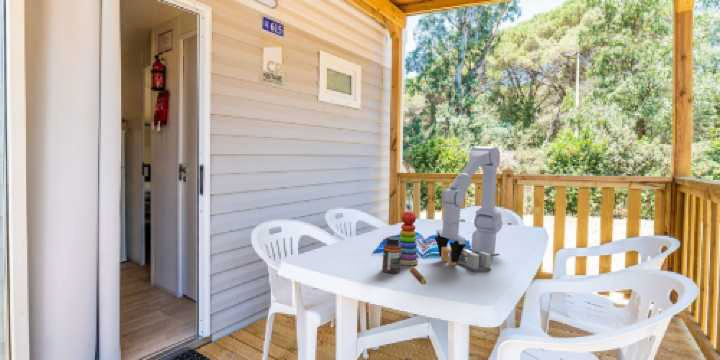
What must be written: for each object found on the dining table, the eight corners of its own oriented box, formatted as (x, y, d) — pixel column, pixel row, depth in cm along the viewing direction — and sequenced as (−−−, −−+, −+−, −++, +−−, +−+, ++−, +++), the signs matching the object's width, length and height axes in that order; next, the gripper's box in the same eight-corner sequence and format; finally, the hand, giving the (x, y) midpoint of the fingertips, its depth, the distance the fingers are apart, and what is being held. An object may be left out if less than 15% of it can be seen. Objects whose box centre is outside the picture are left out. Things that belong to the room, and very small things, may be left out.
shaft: (449, 255, 148) (450, 242, 148) (461, 254, 151) (462, 242, 150) (471, 265, 137) (472, 251, 137) (483, 264, 139) (484, 250, 139)
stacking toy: (419, 261, 143) (423, 210, 142) (415, 267, 136) (418, 214, 134) (398, 258, 146) (401, 208, 144) (393, 264, 138) (396, 211, 137)
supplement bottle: (380, 268, 133) (382, 235, 132) (398, 268, 133) (400, 235, 133) (383, 273, 127) (385, 239, 126) (401, 274, 128) (403, 240, 127)
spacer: (449, 265, 140) (450, 250, 139) (440, 261, 145) (441, 246, 144) (455, 265, 141) (456, 250, 140) (446, 260, 146) (447, 246, 145)
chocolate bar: (419, 284, 120) (420, 277, 120) (408, 271, 132) (408, 265, 132) (427, 284, 121) (428, 277, 120) (415, 271, 132) (416, 265, 132)
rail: (442, 257, 151) (443, 243, 150) (457, 255, 154) (458, 242, 153) (474, 272, 134) (475, 256, 134) (490, 270, 137) (492, 255, 136)
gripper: (430, 218, 147) (428, 254, 148) (454, 226, 133) (451, 265, 135) (446, 218, 149) (443, 253, 151) (471, 225, 136) (468, 264, 137)
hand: (448, 258), depth 143 cm, fingers open, 7 cm apart
